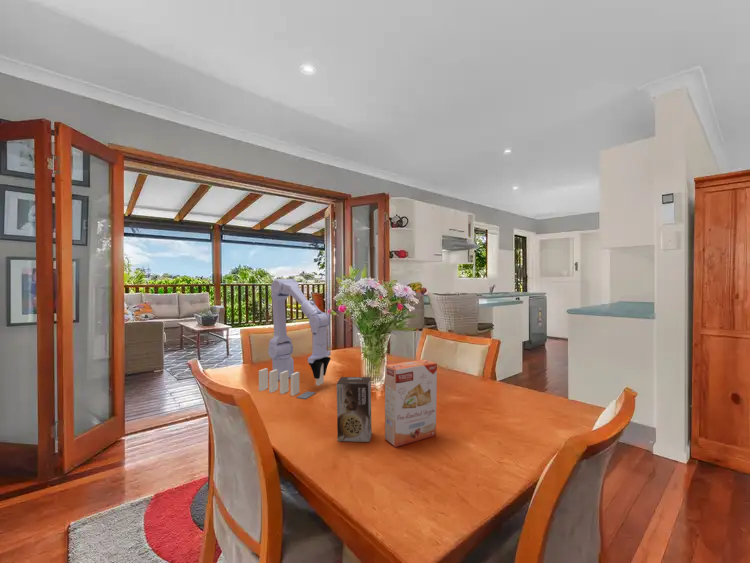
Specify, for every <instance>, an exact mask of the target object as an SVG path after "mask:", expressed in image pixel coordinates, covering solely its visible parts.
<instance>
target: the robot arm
mask: <svg viewBox="0 0 750 563" xmlns="http://www.w3.org/2000/svg"><path fill="white" fill-rule="evenodd" d="M270 286H271V287H270V288H271V289H270V290H271V300H272V301H271V302H272V303H271V304H272V320H273V322H272V323H273V337H272V338H270V340H269V342H268V348H267V353H268V356H269V357H270V358H271V359H272V360H271V361H272V371H273V370H275V369H277V370H278V381H280V373H281V372H284V371H289V379H291V374H293V373H295V364H294V358H293V357H292V356H291V355H292V354H293V352H294V346H293V344H292V338H291V337H290V336H288V335H287V334H288V333H287V332H288V331H287V320H286V319H287V318H286V316H287V315H286V300H287V298H288V297H289V296H291V297H292V298H293V299H294V300H295V301H296V302H297V303H298V304H299V305H300V310H301V311H302V313H303V314H304V316H305V317H306V318H307V319H308V324H309V326H310V331H311V333H312V348H311V349H312V353H311V355H310V356H309V357H307V363H308V365H309V366H310V369H311V371H312V374H313V375H312V376H313V378H314V379H315V380H316V379H319V378H320V371H321V366H322V363H324V377H325V376H326V374H327V369H328V366H329V363H330V361H331V359H332V358H331V357H330V356H332V355H331V350H327V349H328V339H327V338H328V332H327V330H328V326H329V325H330V323H331V321H330V317H329V315H328V313H327V312H323V311H321V309H319V307H318V306H317V305H316V303H315V302H314V301H312V300H308V299H307V297H306V295H305V294H304V293H303V292H302V290H301V289H300V284H299V283H298V282H297V280H296V279H294V278H282V279H281V278H275V279H274V280H273V281H272V283H271V284H270ZM268 380H269V377H268Z"/></svg>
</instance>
